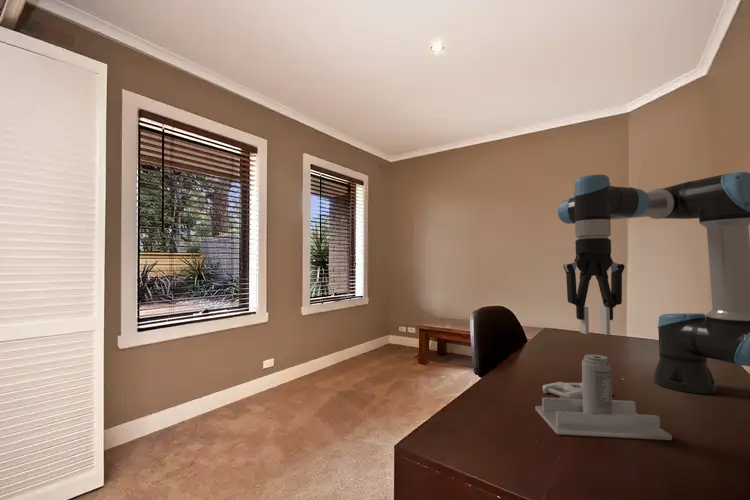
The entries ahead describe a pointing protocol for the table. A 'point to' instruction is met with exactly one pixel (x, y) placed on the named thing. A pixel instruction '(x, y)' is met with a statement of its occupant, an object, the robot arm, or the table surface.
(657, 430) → the grey flanged channel tray
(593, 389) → the energy drink can
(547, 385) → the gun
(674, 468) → the table surface
